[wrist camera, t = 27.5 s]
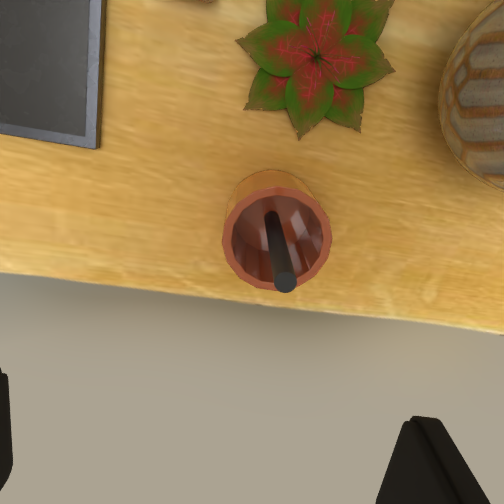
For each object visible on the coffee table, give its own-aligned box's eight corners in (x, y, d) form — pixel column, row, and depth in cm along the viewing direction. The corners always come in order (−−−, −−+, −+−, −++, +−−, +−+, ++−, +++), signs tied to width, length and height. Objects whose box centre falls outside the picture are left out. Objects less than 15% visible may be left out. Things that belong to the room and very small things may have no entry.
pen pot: (323, 178, 33) (343, 196, 26) (305, 261, 35) (318, 297, 29) (234, 162, 33) (231, 178, 26) (221, 248, 35) (215, 282, 28)
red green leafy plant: (220, 126, 32) (215, 130, 27) (248, -58, 28) (248, -88, 23) (371, 155, 33) (390, 164, 28) (419, -20, 29) (450, -41, 24)
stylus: (280, 210, 33) (299, 273, 21) (277, 224, 34) (294, 294, 22) (265, 208, 33) (276, 270, 21) (262, 222, 34) (272, 291, 22)
